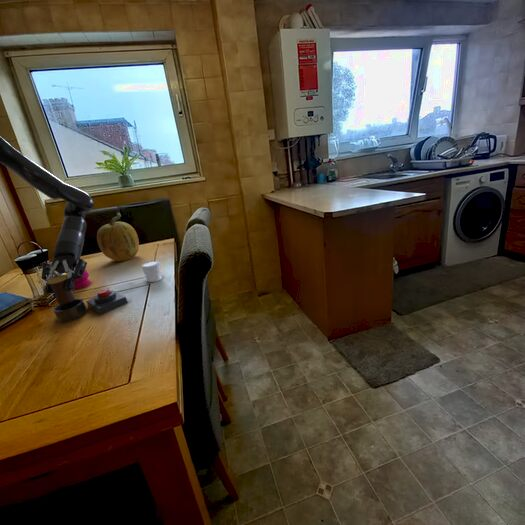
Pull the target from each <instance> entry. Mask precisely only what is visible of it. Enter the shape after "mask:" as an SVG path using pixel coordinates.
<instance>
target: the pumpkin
mask: <svg viewBox="0 0 525 525" xmlns="http://www.w3.org/2000/svg"><path fill="white" fill-rule="evenodd" d="M121 217H122V215H121V213H120V212H116V216H114V217H112V218H111V219H110V222H109V223H107V224H104V225H102V226H101V227H100V228H99V229H98V230H97V233H96V241H97V245H98V248H99V249H100V251H101V252H102V254H103V255H104V256H105V257H106V258H108V259H111V260H112V261H115V262H124V261H128V260H130V259H133V258H134V257H135V256H136V255H137V254H138V253H139V251H140V250H139V249H140V241H139V236H138V233H137V230H135V228H134V227H133V226H132V225H131V224H129V223H127V222H124V221H117V220H120V218H121Z"/></svg>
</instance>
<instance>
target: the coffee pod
mask: <svg viewBox="0 0 525 525" xmlns="http://www.w3.org/2000/svg"><path fill="white" fill-rule="evenodd" d="M53 277H54V276H53ZM53 277H52V279H50V280H48V281H46V283H47V284H50V286H51V288H52V290H53V294H54V297H55V299H56V301H57V305H59V304H66V303H69V302H71V301H73V300H75V299H76V296H75V293H74V292H73V290H72V291H70V292H68V291H65V290H64V288H65V284H66V280H67V279H68V277H67V274H62V275H61V276H57V277H54V278H53Z"/></svg>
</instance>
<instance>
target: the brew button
mask: <svg viewBox="0 0 525 525" xmlns="http://www.w3.org/2000/svg"><path fill="white" fill-rule="evenodd" d="M97 294H98V296H99V298H102V297H106V296H108V295H110V289H109V288H103V289H100V290H98V291H97Z"/></svg>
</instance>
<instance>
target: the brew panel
mask: <svg viewBox="0 0 525 525" xmlns="http://www.w3.org/2000/svg"><path fill="white" fill-rule="evenodd" d="M109 291H110V295H108V296H106V297H102V298H99V296H98V293H97V294H96V295H94V297H92V298H90V299H87V300H86V304H87V306H88V308H90V309H91V310H93V311H94V312H96V313H97V314H99V315H104V314H106V313H109V312H110V311H113V310H115V309H118V308H120V307H121V306H123V305H126V304H128V302H129V301H128V299H127V296H125V295H123V294H121V293H119V292H117V291H115V290H114V289H113V290H111V289H109Z"/></svg>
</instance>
